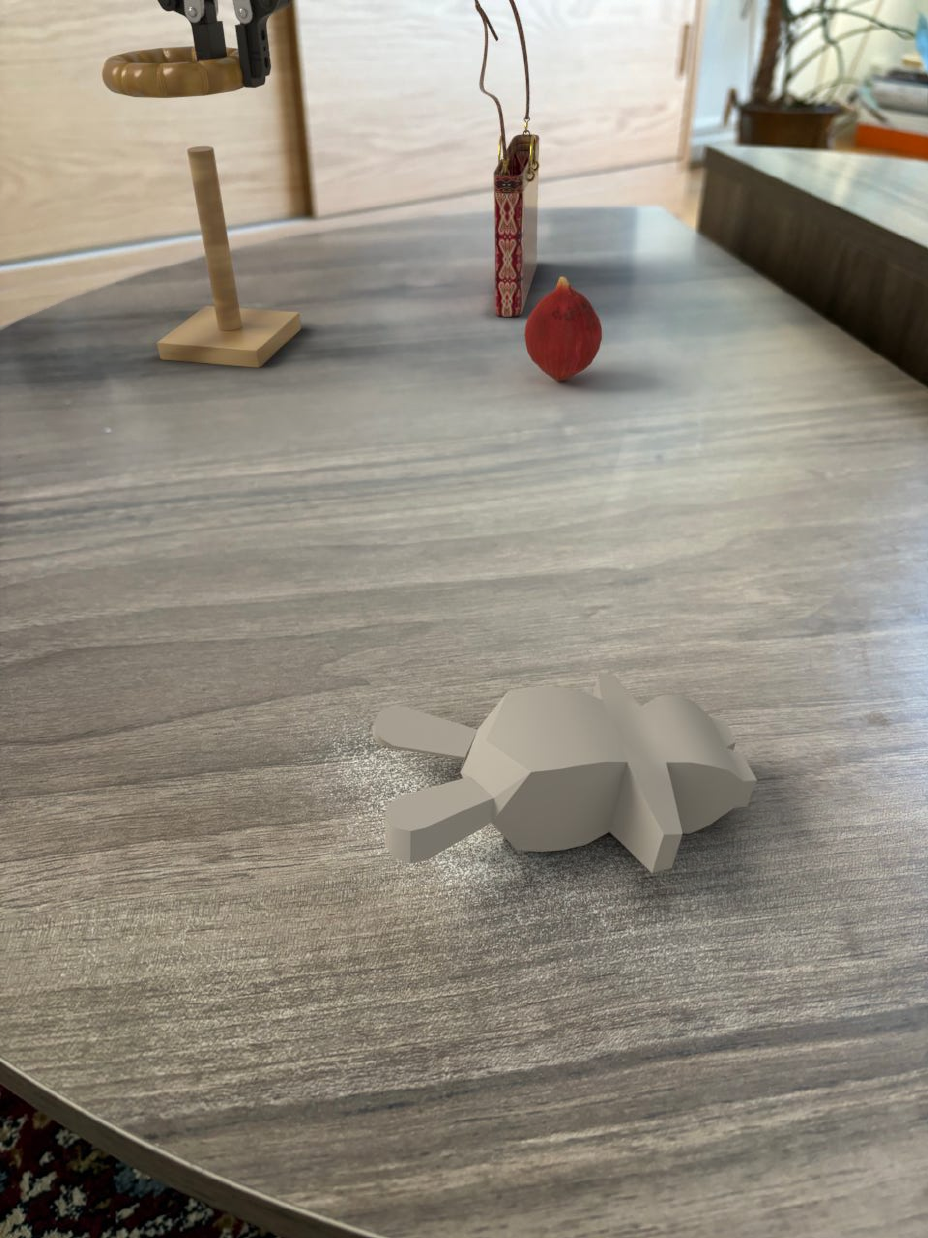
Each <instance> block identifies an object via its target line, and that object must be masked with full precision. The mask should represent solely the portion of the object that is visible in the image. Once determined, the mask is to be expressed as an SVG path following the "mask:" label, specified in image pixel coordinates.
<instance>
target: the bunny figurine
mask: <svg viewBox="0 0 928 1238" xmlns="http://www.w3.org/2000/svg"><path fill="white" fill-rule="evenodd" d="M593 688H594V689H593V693H592V694H590V693H588V692H586V691H583V690H581V689H577V688H569V687H561V686H530V687H524V688H517V689H512V690H508V691H506V693H504V695H503V697H502V698H501V699H500V700H499V702H498V703H497V704H496V706H495V707H494V708H493V709H492V711H491V712H490V713H489V715H488V716H487V717H486V718H485V720H484V721H483V722H482V723H481V725H479V727H478V728H477V729H476V728H473V727H471V726H468V725H465V724H461V723H458V722H455V721H453V720H449V719H445V718H443V717H440V716H436V715H433V714H430V713H427V712H423V711H421V710H417V709H413V708H411V707H405V706H399V705H391V706H388V707H385V708H384V709H382V710H380V711H379V712H378V714H377V716H376V718H375V720H374V721H373V726H372V732H371V733H372V737H373V739H374V741H375V742H376V743H377V744H378V745H379V746H382V747H385V748H388V749H391V750H397V751H402V752H403V751H404V752H410V753H417V754H424V755H429V756H435V757H441V758H448V759H454V760H459V761H462V763H461V767H460V775H461V776H462V777H461V778H459V779H456V780H452V781H449V782H445V783H442V784H439V785H435V786H431V787H427V788H424V789H421V790H417V791H413V792H409V793H406V794H402V795H399V796H398V797H396V798H395V799H393V800H392V801H390V802H388V804H387V806H386V808H385V811H384V846H385V848H386V850H387V851H388V853H389V854H390V855H391V856H392V858H393V859H395V860H398V861H401V862H404V863H407V864H409V865H411V864H416V863H419V862H423V861H428V860H430V859H432V858H433V857H436V856H437V855H439V854H440V853H442V852H444V851H445V850H447V849H449V848H452V847H453V846H454V845H456V844H458V843H459V842H461V841H463V840H465V839H467V838H468V837H470V836H471V835H473V834H474V833H477V832H478V831H480V830H482V829H483V828H485V827H487V826H488V825H490V824H492V825H493V826H494V828H495V829H496V830H497V831H498V832H499V833H500V834H501V835H503V837H504V838H505V839H506V841H507V842H508V843H509V844H510V845H512V847H513V848H514V849H515V850H516V851H520V852H521V851H523V852H535V853H544V852H557V851H565V850H569V849H573V848H578V847H582V846H586V845H589V844H590V843H593V842H594V841H595V840H597V839H599V838H601V837H603V836H605V835H606V834H608V833H610V834H611V835H612V836H613V837H614V838H615V839H616V840H617V841H618V842H620V844H622V846H624V847H625V849H626V850H628V851H629V852H630V853H631V854H632V855H633V856H634V857H635V858H636V859H637V860H638V861H639V862H640V863H641V864H642V865H643V866H644V867H645V868H646V869H647V870H648V871H649V872H650V873H651V874H653V873H657V872H661V871H666V870H670V869H672V868H673V865H674V863H675V860H676V856H677V853H678V850H679V847H680V844H681V840H682V837H683V834H688V835H689V834H692V833H695V832H697V831H700V830H701V829H704V828H706V827H708V826H711V825H712V824H714V823H715V822H717V821H718V820H719V819H720V818H722V817H723V816H725V815H726V814H728V813H729V812H730V811H732V810H733V809H737V808H748V805H749V803H750V800H751V798H752V795H753V793H754V789H755V786H756V784H757V781H758V780H757V778H756V775H755V774H754V772H753V770H752V769H751V766H750V765H749V763H748V761H747V759H746V757H745V756H744V754H743V752H741V751H739V750H736V749H735V746H736V743H737V740H736V738H735V736H734V735H733V733H732V730H731V729H730V727H729V725H728V723H727V722H726V720H725V717H724V716H723V715H719V716H718V715H717V716H714V715H711V716H710V715H709V714H708V713H706V711H705V710H704V709H702V708H701V706H699V705H698V703H696V702H695V701H693V700H691V699H688V698H686V697H684V696H682V695H680V694H677V693H676V694H662V695H661V694H660V695H658V696H656V697H655V698H653V699H651V700H650V701H649V700H648V702H646V703H644V704H642V705H641V704H640V703H639V702H638V701H637V700H636V699H635V697H634V696H633V695H632V694H631V693H630V691H629V690H628V689H627V687H625V685H624V684H623V683H622V682H621V681H620V679H619V678H618V677H617V675H615V674H611V673H605V672H599V671H598V672H597V674H596V679H595V683H594V687H593Z"/></svg>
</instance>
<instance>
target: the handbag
mask: <svg viewBox="0 0 928 1238" xmlns="http://www.w3.org/2000/svg"><path fill="white" fill-rule="evenodd" d="M508 1H509V5H510V7H511V9H512V13H513V15H514V19H515V22H516V27H517V31H518V36H519V42H520V46H521V47H520V48H521V52H522V60H523V61H522V62H523V67H524V68H523V69H524V77H525V78H524V79H525V99H526V100H525V115H524V117H523V122H524V123H523V124H524V125H523V126H524V130H523V131H522V134H516V135H514V136H513V137H512V139H511V140H510V143H509V144H508V146H507V141H506V130H505V123H504V122H505V121H504V116H503V109H502V105H501V103H500V101H499V99H498V98H497V97H496V96H495V95H494V94H492V93H490V92H488V91H487V90H486V89H485V83H484V82H485V76H486V69H487V61H488V53H489V52H488V51H489V30H490V32H491V35H492V37H493V39H494V40H495V42H498V41H499V37H498V34H497V33H496V31H495V29H494V27H493V24H492V23H491V20H490V19H489V16H488V15H487V13H486V12H485V11H484V9H483V8H482V6H481V3H480V1H479V0H474V7H475V10H476V12H477V13H478V14H479V16H480V18H481V21H482V24H483V30H484V48H483V49H484V51H483V59H482V65H481V66H482V67H481V69H480V70H481V71H480V76H479V83H478V87H479V90H480V92H482V93H483V94H484V95H487V96H488V97H490V98H491V99H492V100H493V101H494V103H495V106H496V108H497V112H498V118H499V126H500V127H499V128H500V136H499V138H498V139H499V140H498V149H497V166H496V167H495V168H494V171H493V175H492V176H493V218H494V219H493V221H494V223H493V226H494V228H493V229H494V314H495V315H496V316H498V317H501V318H502V317H503V318H504V317H505V318H516V317H520V316H521V315H522V313H523V312H524V308H525V304H526V301H527V298H528V295H529V291H530V288H531V285H532V283H533V279H534V276H535V273H536V270H537V267H538V210H539V208H538V207H539V169H540V163H539V162H540V135H538V134H533V133H532V134H531V132H530V131H529V129H528V127H529V122H530V120H531V118H530V101H531V100H530V98H531V97H530V93H531V92H530V73H529V61H528V54H527V53H528V52H527V48H526V47H527V46H526V40H525V34H524V28H523V24H522V21H521V17H520V12H519V10H518V7H517V5H516V2H515V0H508ZM501 153H502V154H501ZM501 155H502V157H501Z"/></svg>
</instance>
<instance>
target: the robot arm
mask: <svg viewBox="0 0 928 1238" xmlns="http://www.w3.org/2000/svg"><path fill="white" fill-rule="evenodd" d="M292 1H293V0H232V6H233V10H234V15H235V18H236V19H237V21H238V22H239V24H235V25H234V29H235V36H236V37H235V38H236V44H237V49H238V53H239V61H240V68H241V71H242V76H243V79H242V82H243V85H244V88H246V89H256V88H259V87H262V86H264V85H265V83H266V79H267V78H266V77H268V76H270V74H271V69H272V61H271V54H270V45H269V37H268V35H269V34H268V28H267V24H268V20H269V18H270V17H271V16H272V15H274V14H276V13H278V12H280V11H283V10H286V9H288V8H289V7H290V6H291V4H292ZM157 2H158V4H159V5H160V7H161V9H162V10H164V11H165V12H174V13H176V14H178V15H181V16H183V17H184V18H186V20H187V21H188V22H189V24H190V27H191V31H192V38H193V43H194V45H193V46H195V51H196V58H197V61H204V60H211V59H219V58H225V57H227V50H226V47H227V44H226V37H225V29H224V21H223V20H218V18H217V17H218V15H219V0H157Z"/></svg>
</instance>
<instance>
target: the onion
mask: <svg viewBox="0 0 928 1238" xmlns="http://www.w3.org/2000/svg"><path fill="white" fill-rule="evenodd" d="M555 285H556V286H555V289H554V290H553V291H551V292H550V293H548V294H547V295H545V296H544V297H543V298H542V299H540V301H539V302H537V304H536V305H535V307H534V308H533V309H532V310H531V312H530V314H529V315H528V317H527V320H526V323H525V326H524V334H523V335H524V341H525V347H526V352H527V354H528V356H529V357H530V359H531V360H532V362H533V363H534V364H535V365H537V367H538V368H539V369H540V370H541V371H542V372H544V373H545V374H546V375H547V376H548V377H550V378H551V379H553V380H554V381H555V382H556V383H557V382H558V383H561V382H565V381H567V380H569V379H570V378H572V377H574V376H575V375H577V374H579V373H581V372H582V371H584V370H585V369H586V368H588V367H589V366H590V365H591V364H592V363H593V361H594V359H595V357H596V356H597V354H598V353H599V351H600V348H601V344H602V341H603V340H602V339H603V327H602V324H601V320H600V318H599V316H598V314H597V312H596V311H595V309H594V307H593V305H592V303H591V302H590V301H589V300H588V298H587V297H586V296H584V295H583V294H582V293H580V292H579V291H577V290H575V288H574V287H573V286H572V284H570V282H569V280H568V278H567V277H565V276H559V277H558V281H557V283H556V284H555Z"/></svg>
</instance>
